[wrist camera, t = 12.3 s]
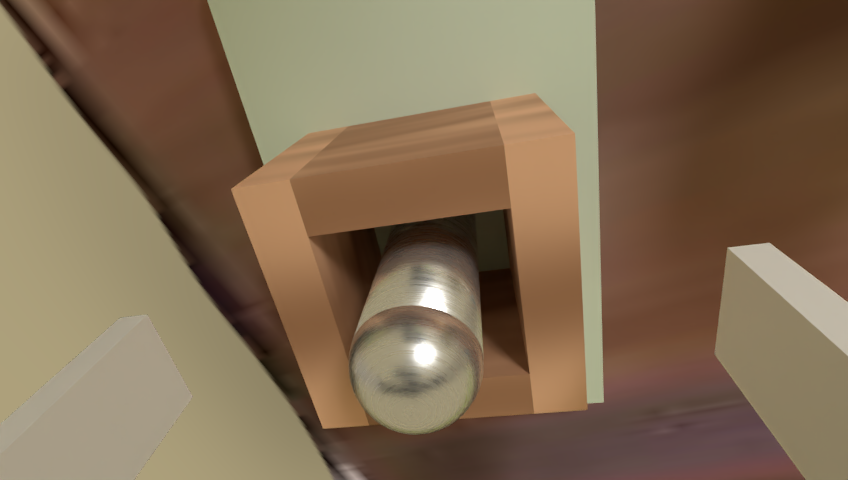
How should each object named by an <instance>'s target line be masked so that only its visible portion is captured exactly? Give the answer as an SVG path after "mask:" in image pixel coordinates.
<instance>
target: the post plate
mask: <svg viewBox="0 0 848 480" xmlns="http://www.w3.org/2000/svg"><path fill="white" fill-rule="evenodd" d="M207 1H208V4H209V7H210V10H211V13H212V16H213V19H214V22H215V25H216V27H217V30H218V33H219V36H220V39H221V42H222V45H223V48H224V51H225V54H226V57H227V60H228V62H229V65H230V68H231V71H232V74H233V77H234V80H235V83H236V86H237V89H238V92H239V95H240V97H241V100H242V103H243V106H244V109H245V112H246V115H247V118H248V121H249V124H250V127H251V130H252V133H253V135H254V138H255V141H256V144H257V147H258V150H259V153H260V156H261V159H262V162H263V165H265V164H266V163H268V162H269V161H271V160H272V159H273V158H275V157H276V156H278V155H279V154H280V153H282V152H283V151H285V150H286V149H287V148H289V147H290V146H291V145H293V144H294V143H296V142H297V141H298V140H300V139H301V138H303V137H304V136H305V135H307V134H308V133H313V132H319V131H324V130H330V129H335V128H341V127H347V126H352V125H358V124H364V123H369V122H375V121H381V120H386V119H392V118H397V117H403V116H409V115H414V114H420V113H426V112H431V111H437V110H443V109H448V108H454V107H459V106H465V105H471V104H476V103H482V102H488V101H493V100H499V99H505V98H510V97H516V96H521V95H527V94H533V93H536V94H537V95H538V96H539V97H540V98H541V99H542V100H543V101H544V102H545V103H546V104H547V105H548V106H549V107H550V108H551V109H552V110H553V111H554V113H555V114H556V115H557V116H558V117H559V118H560V119H561V120H562V121H563V122H564V123H565V124H566V125H567V126H568V127H569V128H570V129H571V130H572V131H573V132H574V133H575V143H576V165H577V187H578V210H579V232H580V254H581V276H582V299H583V321H584V343H585V366H586V388H587V403H600V402H604V398H603V352H602V306H601V259H600V213H599V167H598V121H597V75H596V28H595V0H207ZM475 217H476V233H477V251H478V268H479V272H481V271H490V270H498V269H506V268H510V263H509V255H508V246H507V238H506V230H505V221H504V213H503V209H502V210H495V211H488V212H481V213H475ZM392 226H393V225H389V226H381V227H374V229H375V233H376V237H377V241H378V245H379V249H380V253H381V257H382V254H383V252H384V249H385V246H386V243H387V240H388V237H389V234H390V232H391V229H392Z"/></svg>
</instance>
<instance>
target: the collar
mask: <svg viewBox="0 0 848 480" xmlns="http://www.w3.org/2000/svg"><path fill="white" fill-rule="evenodd" d="M231 191H232V194H233V196H234V199H235V201H236V204H237V207H238V209H239V212H240V214H241V217H242V220H243V222H244V225H245V227H246V230H247V232H248V235H249V238H250V240H251V243H252V245H253V248H254V251H255V253H256V256H257V258H258V261H259V264H260V266H261V269H262V271H263V274H264V277H265V279H266V282H267V284H268V287H269V290H270V292H271V295H272V297H273V300H274V303H275V305H276V308H277V310H278V313H279V316H280V318H281V321H282V323H283V326H284V329H285V331H286V334H287V336H288V339H289V342H290V344H291V347H292V349H293V352H294V355H295V357H296V360H297V362H298V365H299V367H300V370H301V373H302V375H303V378H304V380H305V383H306V386H307V388H308V391H309V393H310V396H311V399H312V401H313V404H314V406H315V409H316V412H317V414H318V417H319V419H320V422H321V425H322V427H323V429H327V428H341V427H355V426H369V425H381V424H379V423H378V422H376V421H375V420H374V419H373V418H372V417H371V416H370V415H368V414H367V413H366V411H365V410H364V409H363V408H362V406H361V405H360V403H359V402H358V400H357V398H356V396H355V394H354V392H353V389H352V386H351V382H350V378H349V370H348V360H349V351H350V347H351V344H352V340H353V337H354V334H355V331H356V329H357V326H358V323H359V320H360V317H361V314H362V311H363V309H364V306H365V303H366V300H367V297H368V294H369V292H370V289H371V286H372V283H373V280H374V277H375V274H376V272H377V269H378V266H379V263H380V260H381V253H380V249H379V245H378V241H377V237H376V233H375V229H374V227H381V226H389V225H396V224H403V223H410V222H417V221H424V220H431V219H438V218H446V217H453V216H460V215H467V214H474V213H481V212H488V211H495V210H502V209H503V213H504V221H505V230H506V238H507V246H508V255H509V263H510V268H506V269H498V270H490V271H481V272H479V286H480V303H481V321H482V338H483V355H484V370H483V378H482V382H481V386H480V389H479V391H478V393H477V396H476V398H475V400H474V401H473V403H472V404H471V406H470V407H469V409H468V410H467V411H466V412H465V413H464V414H463V415H462V416H461V417H460V418H459V419H466V418H480V417H494V416H508V415H522V414H536V413H549V412H563V411H577V410H587V388H586V366H585V343H584V321H583V299H582V276H581V254H580V232H579V210H578V187H577V165H576V143H575V133H574V132H573V131H572V130H571V129H570V128H569V127H568V126H567V125H566V124H565V123H564V122H563V121H562V120H561V119H560V118H559V117H558V116H557V115H556V114H555V113H554V111H553V110H552V109H551V108H550V107H549V106H548V105H547V104H546V103H545V102H544V101H543V100H542V99H541V98H540V97H539V96H538V95H537V94H536V93H533V94H527V95H521V96H516V97H510V98H505V99H499V100H493V101H488V102H482V103H476V104H471V105H465V106H459V107H454V108H448V109H443V110H437V111H431V112H426V113H420V114H414V115H409V116H403V117H397V118H392V119H386V120H381V121H375V122H369V123H364V124H358V125H352V126H347V127H341V128H335V129H330V130H324V131H319V132H313V133H308V134H307V135H305V136H304V137H303V138H301V139H300V140H298V141H297V142H296V143H294V144H293V145H291V146H290V147H289V148H287V149H286V150H285V151H283V152H282V153H280V154H279V155H278V156H276V157H275V158H273V159H272V160H271V161H269V162H268V163H266V164H265V165H264V166H262V167H261V168H259V169H258V170H257V171H255V172H254V173H253V174H251V175H250V176H248V177H247V178H246V179H244V180H243V181H241V182H240V183H239V184H237V185H236V186H234V187H233V188H232V189H231Z"/></svg>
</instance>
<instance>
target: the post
mask: <svg viewBox="0 0 848 480" xmlns="http://www.w3.org/2000/svg"><path fill="white" fill-rule="evenodd" d="M348 370H349V378H350V382H351V386H352V389H353V392H354V394H355V396H356V398H357V400H358V402H359V403H360V405H361V406H362V408H363V409H364V410H365V411H366V413H367V414H368V415H370V416H371V417H372V418H373V419H374V420H375V421H376V422H378V423H379V424H381V425H382V426H384V427H386V428H388V429H391V430H393V431H396V432H400V433H404V434H413V435H415V434H428V433H432V432H436V431H439V430H441V429H443V428H445V427H447V426H449V425H451V424H452V423H454V422H455V421H456V420H458V419H459V418H460V417H461V416H462V415H463V414H464V413H465V412H466V411H467V410H468V409H469V407H470V406H471V404H472V403H473V401H474V400H475V398H476V396H477V393H478V391H479V389H480V386H481V382H482V378H483V370H484V355H483V338H482V321H481V303H480V286H479V268H478V251H477V233H476V217H475V213H474V214H467V215H460V216H453V217H446V218H438V219H431V220H424V221H417V222H410V223H403V224H396V225H393V226H392V229H391V232H390V234H389V237H388V240H387V243H386V246H385V249H384V252H383V254H382V257H381V260H380V263H379V266H378V269H377V272H376V274H375V277H374V280H373V283H372V286H371V289H370V292H369V294H368V297H367V300H366V303H365V306H364V309H363V311H362V314H361V317H360V320H359V323H358V326H357V329H356V331H355V334H354V337H353V340H352V344H351V347H350V351H349V360H348Z"/></svg>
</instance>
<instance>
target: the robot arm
mask: <svg viewBox="0 0 848 480" xmlns="http://www.w3.org/2000/svg"><path fill="white" fill-rule="evenodd" d="M715 356H716V357H717V358H718V360H719V361H720V363H721V364H722V365H723V367H724V368H725V369H726V371H727V372H728V374H729V375H730V376H731V378H732V379H733V380H734V382H735V383H736V385H737V386H738V387H739V389H740V390H741V391H742V393H743V394H744V396H745V397H746V398H747V400H748V401H749V402H750V404H751V405H752V407H753V408H754V409H755V411H756V412H757V413H758V415H759V416H760V418H761V419H762V420H763V422H764V423H765V424H766V426H767V427H768V429H769V430H770V431H771V433H772V434H773V435H774V437H775V438H776V440H777V441H778V442H779V444H780V445H781V446H782V448H783V449H784V451H785V452H786V453H787V455H788V456H789V457H790V459H791V460H792V462H793V463H794V464H795V466H796V467H797V468H798V470H799V471H800V473H801V474H802V475H803V477H804V478H805V479H806V480H848V302H847V301H845V300H844V299H843V298H841V297H840V296H839V295H838V294H836V293H835V292H834V291H832V290H831V289H830V288H828V287H827V286H826V285H824V284H823V283H822V282H820V281H819V280H818V279H816V278H815V277H814V276H813V275H811V274H810V273H809V272H807V271H806V270H805V269H803V268H802V267H801V266H799V265H798V264H797V263H795V262H794V261H793V260H791V259H790V258H789V257H788V256H786V255H785V254H784V253H782V252H781V251H780V250H778V249H777V248H776V247H774V246H773V245H772V244H770V243H763V244H754V245H746V246H737V247H728V248H727V256H726V264H725V272H724V280H723V289H722V297H721V305H720V313H719V321H718V330H717V338H716V346H715ZM192 397H193V396H192V395H191V393H190V391H189V389H188V387H187V386H186V384H185V382H184V380H183V378H182V376H181V374H180V373H179V371H178V369H177V367H176V366H175V364H174V362H173V360H172V358H171V356H170V355H169V353H168V351H167V349H166V347H165V345H164V343H163V342H162V340H161V338H160V336H159V334H158V333H157V331H156V329H155V327H154V325H153V323H152V322H151V320H150V318H149V316H148V315H138V316H130V317H121V318H119V319H118V320H117V321H116V322H115V323H113V324H112V325H111V326H110V327H109V328H108V329H107V330H106V331H104V332H103V333H102V334H101V335H100V336H99V337H98V338H97V339H95V340H94V341H93V342H92V343H91V344H90V345H89V346H87V348H85V349H84V350H83V351H82V352H81V353H80V354H78V355H77V356H76V357H75V358H74V359H73V360H72V361H71V362H69V363H68V364H67V365H66V366H65V367H64V368H63V369H62V370H60V371H59V372H58V373H57V374H56V375H55V376H54V377H53V378H51V379H50V380H49V381H48V382H47V383H46V384H45V385H43V386H42V387H41V388H40V389H39V390H38V391H37V392H36V393H34V394H33V395H32V396H31V397H30V398H29V399H28V400H27V401H26V402H24V403H23V404H22V405H21V406H20V407H19V408H17V410H15V411H14V412H13V413H12V414H11V415H10V416H8V417H7V418H6V419H5V420H4V421H3V422H2V423H1V424H0V480H134V479H135V478H136V477H137V475H138V474H139V472H140V471H141V470H142V468H143V467H144V465H145V464H146V462H147V461H148V460H149V458H150V457H151V455H152V454H153V453H154V451H155V450H156V448H157V447H158V446H159V444H160V442H161V441H162V440H163V438H164V437H165V436H166V434H167V433H168V431H169V430H170V428H171V427H172V426H173V424H174V423H175V421H176V420H177V419H178V417H179V416H180V414H181V413H182V412H183V410H184V409H185V407H186V406H187V404H188V403H189V402H190V400H191V399H192Z"/></svg>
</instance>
